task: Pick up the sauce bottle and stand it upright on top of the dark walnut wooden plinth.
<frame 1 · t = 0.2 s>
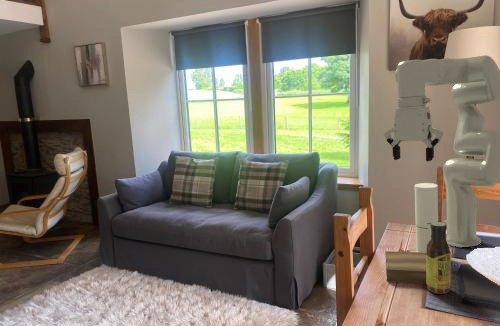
hand: (412, 160, 113), 37 cm above the table, tool pointing down, fingers open, 9 cm apart
walnut plinth: (409, 272, 119), on the table
cylindrical container: (427, 255, 131), on the table
sauce bottle: (438, 290, 108), on the table
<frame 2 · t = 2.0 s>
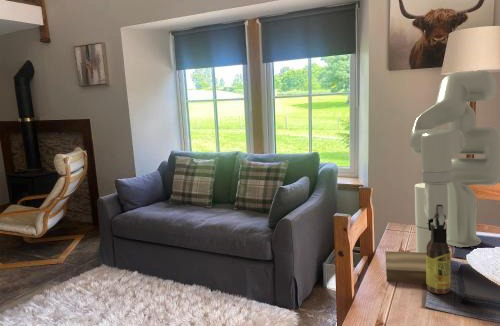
hand: (437, 236, 105), 16 cm above the table, tool pointing down, fingers open, 9 cm apart
nothing on the table moved.
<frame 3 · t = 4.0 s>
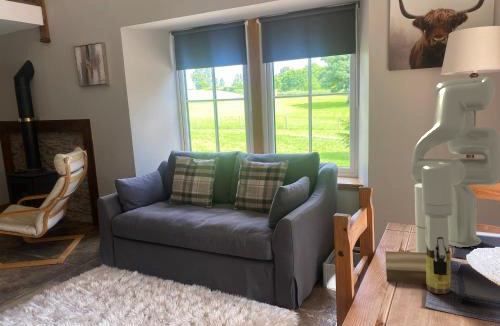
hand: (438, 267, 107), 7 cm above the table, tool pointing down, fingers closed on sauce bottle, 6 cm apart
sauce bottle: (438, 290, 108), on the table, touching gripper
everything else where it was.
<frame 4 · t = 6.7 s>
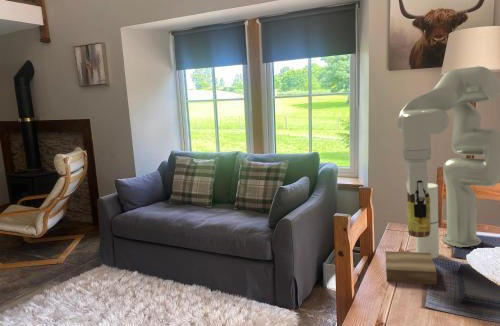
hand: (418, 212, 112), 21 cm above the table, tool pointing down, fingers closed on sauce bottle, 6 cm apart
sauce bottle: (419, 235, 112), point 14 cm above the table, touching gripper
everything else where it was.
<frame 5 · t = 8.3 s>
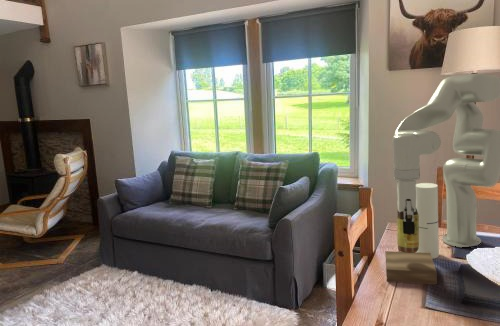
hand: (408, 229, 117), 15 cm above the table, tool pointing down, fingers closed on sauce bottle, 6 cm apart
sauce bottle: (408, 251, 118), point 8 cm above the table, touching gripper
everything else where it was.
when the fingers open (12 cm above the table, at t = 9.7 s): sauce bottle moves 1 cm, resting on walnut plinth.
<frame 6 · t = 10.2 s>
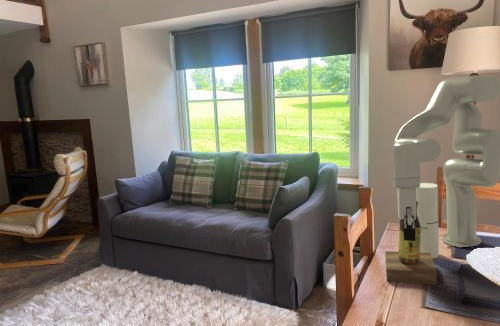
hand: (408, 234, 117), 13 cm above the table, tool pointing down, fingers open, 9 cm apart
sauce bottle: (409, 261, 119), point 4 cm above the table, touching walnut plinth
everything else where it was.
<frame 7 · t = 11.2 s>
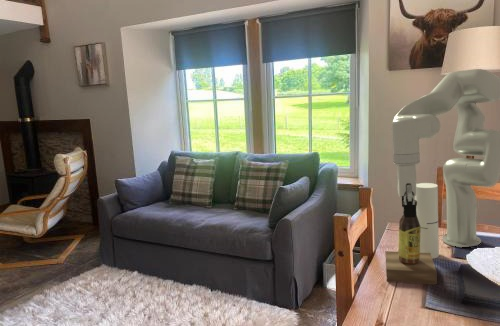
hand: (408, 211, 117), 20 cm above the table, tool pointing down, fingers open, 9 cm apart
nothing on the table moved.
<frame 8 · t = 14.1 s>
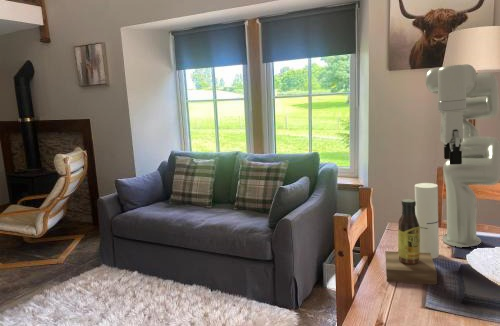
hand: (452, 161, 117), 34 cm above the table, tool pointing down, fingers open, 9 cm apart
nothing on the table moved.
at the end: sauce bottle inside the target area on the walnut plinth (0.1 cm from its centre), point 3.8 cm above the walnut plinth's base; sauce bottle tilted 0°; the gripper is holding nothing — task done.
